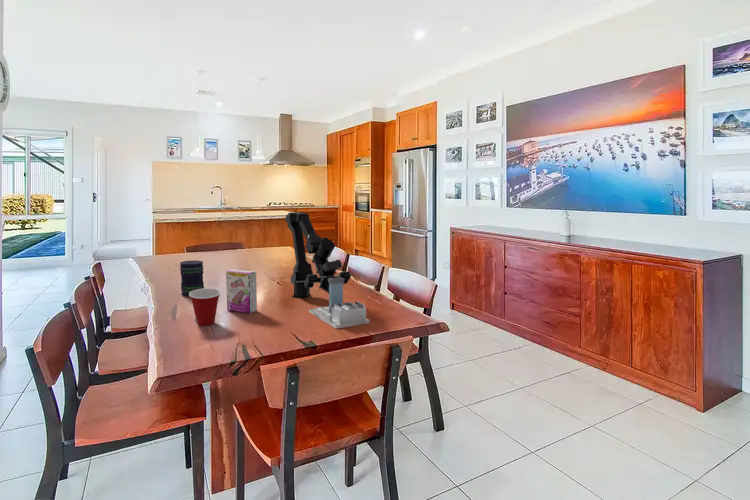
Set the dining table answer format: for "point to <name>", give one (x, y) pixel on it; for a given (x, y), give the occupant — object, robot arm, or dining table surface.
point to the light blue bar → (335, 291)
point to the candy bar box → (241, 291)
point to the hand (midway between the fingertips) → (334, 297)
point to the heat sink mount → (342, 314)
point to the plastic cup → (205, 305)
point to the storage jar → (191, 276)
